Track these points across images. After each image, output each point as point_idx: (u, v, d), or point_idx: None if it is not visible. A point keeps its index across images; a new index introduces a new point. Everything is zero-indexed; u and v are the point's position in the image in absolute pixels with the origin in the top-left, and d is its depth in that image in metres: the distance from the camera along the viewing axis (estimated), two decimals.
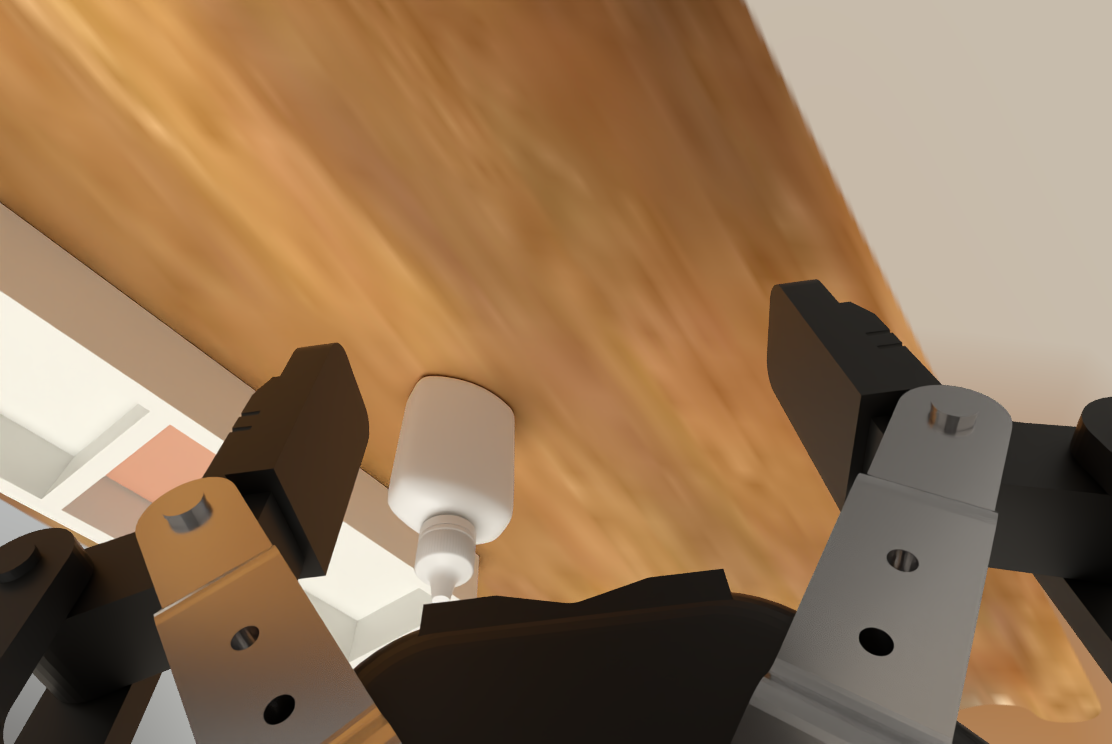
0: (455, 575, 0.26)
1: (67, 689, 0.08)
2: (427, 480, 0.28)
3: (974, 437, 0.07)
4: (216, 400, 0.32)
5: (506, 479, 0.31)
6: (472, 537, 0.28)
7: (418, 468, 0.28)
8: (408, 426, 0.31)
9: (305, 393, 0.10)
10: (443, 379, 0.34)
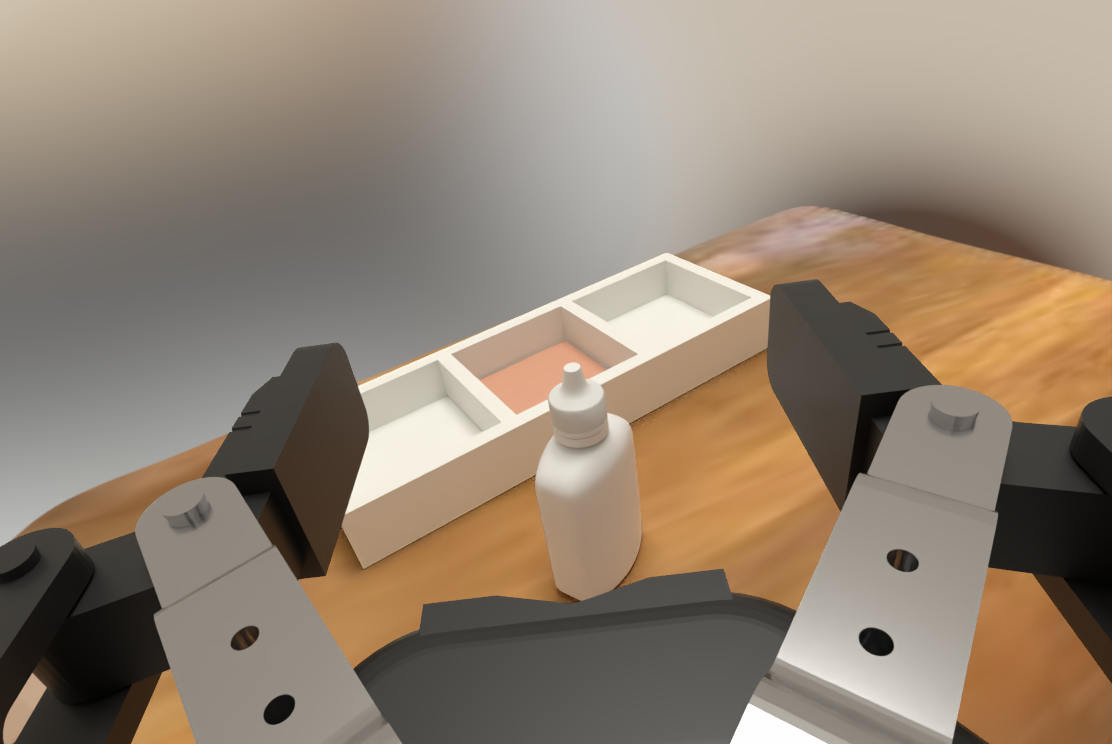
0: (579, 393, 0.27)
1: (67, 689, 0.08)
2: (629, 436, 0.30)
3: (974, 437, 0.07)
4: (638, 391, 0.41)
5: (588, 519, 0.28)
6: (589, 434, 0.27)
7: (632, 440, 0.30)
8: None
9: (305, 393, 0.10)
10: (640, 541, 0.34)
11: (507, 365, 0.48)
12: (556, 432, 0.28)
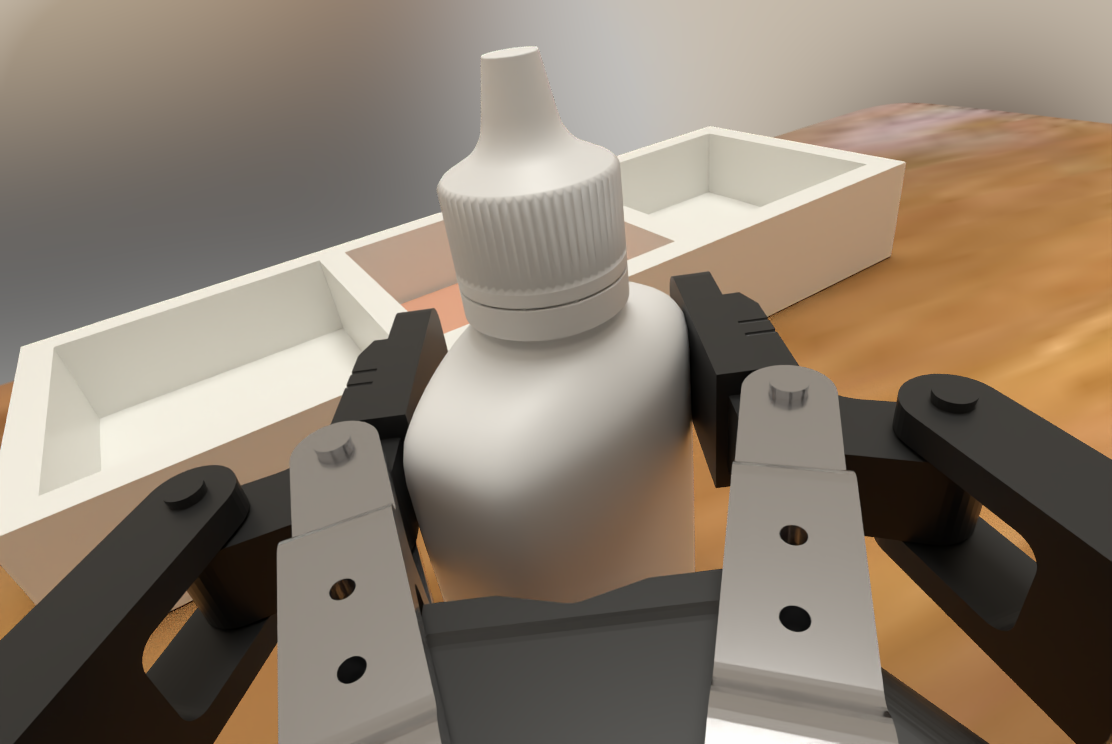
0: (536, 144, 0.08)
1: (212, 614, 0.09)
2: (684, 334, 0.11)
3: (800, 410, 0.08)
4: None
5: (564, 570, 0.09)
6: (567, 292, 0.08)
7: (689, 350, 0.11)
8: None
9: (417, 351, 0.11)
10: None
11: (449, 283, 0.29)
12: (465, 295, 0.09)
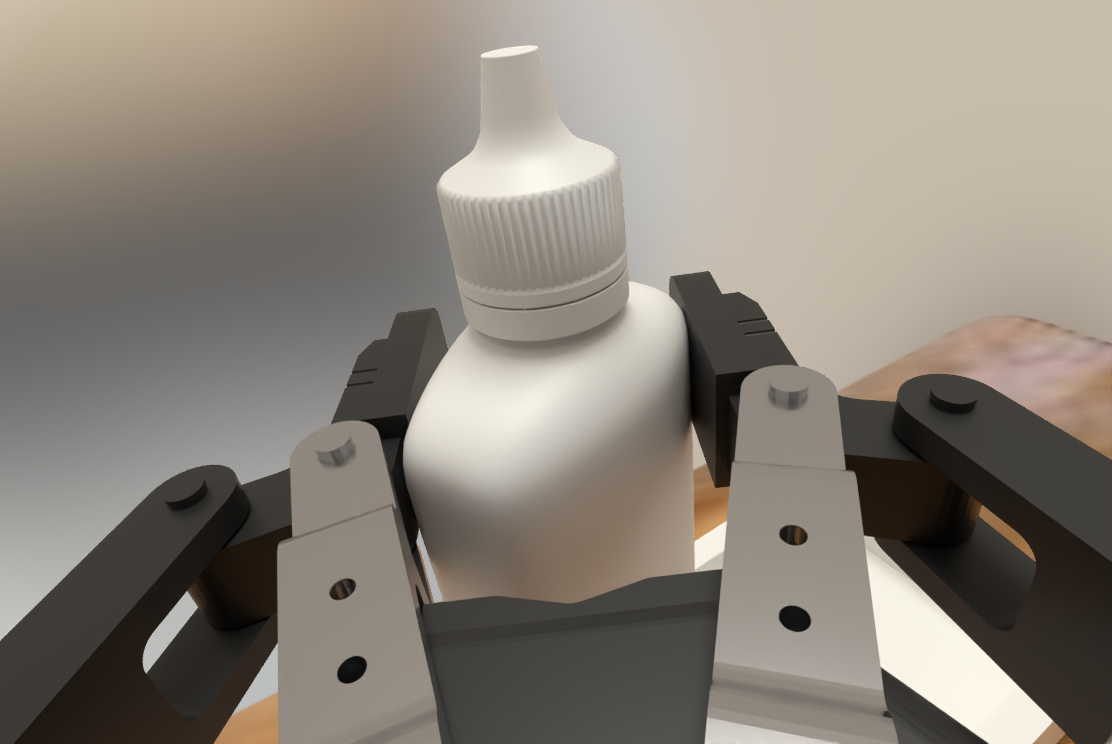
0: (536, 144, 0.08)
1: (212, 614, 0.09)
2: (683, 334, 0.11)
3: (800, 410, 0.08)
4: None
5: (565, 570, 0.09)
6: (567, 291, 0.08)
7: None
8: None
9: (417, 351, 0.11)
10: None
11: None
12: (465, 295, 0.09)
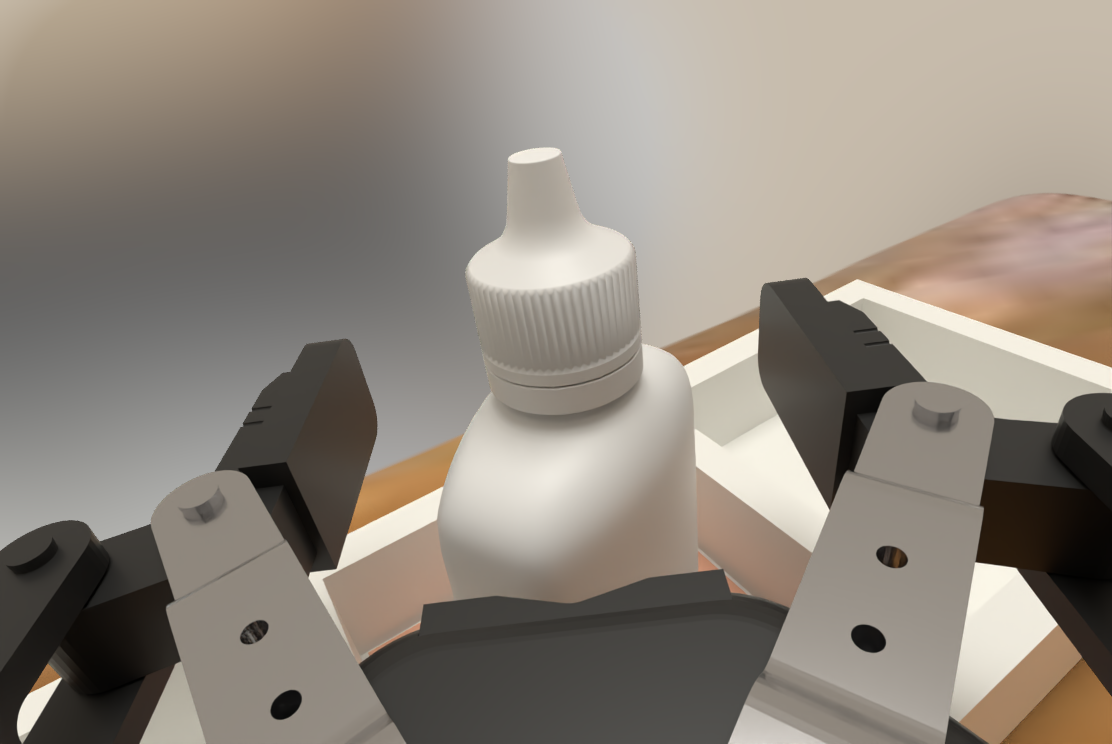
0: (561, 238, 0.09)
1: (81, 680, 0.08)
2: (689, 392, 0.11)
3: (956, 433, 0.08)
4: None
5: None
6: (593, 370, 0.09)
7: None
8: None
9: (316, 388, 0.10)
10: None
11: None
12: (494, 372, 0.09)
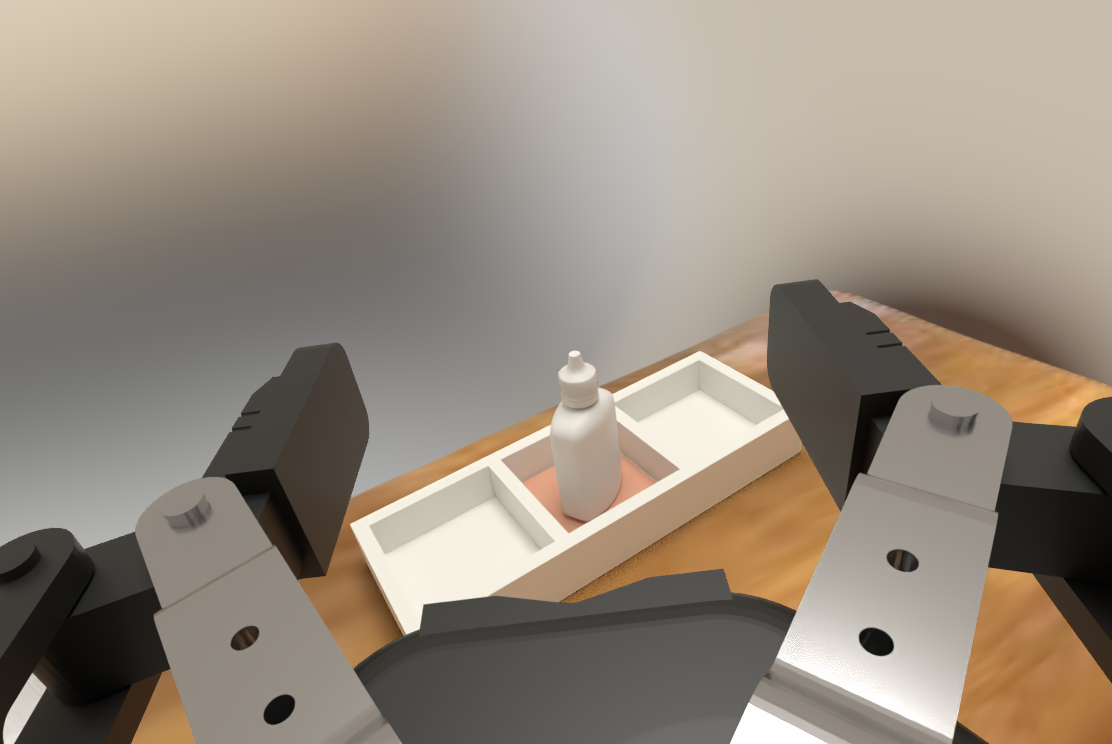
0: (580, 371, 0.41)
1: (67, 689, 0.08)
2: (612, 402, 0.43)
3: (975, 437, 0.07)
4: (679, 504, 0.44)
5: (587, 457, 0.42)
6: (586, 398, 0.41)
7: (614, 405, 0.44)
8: None
9: (305, 393, 0.10)
10: (621, 480, 0.47)
11: (551, 465, 0.50)
12: (564, 398, 0.41)
